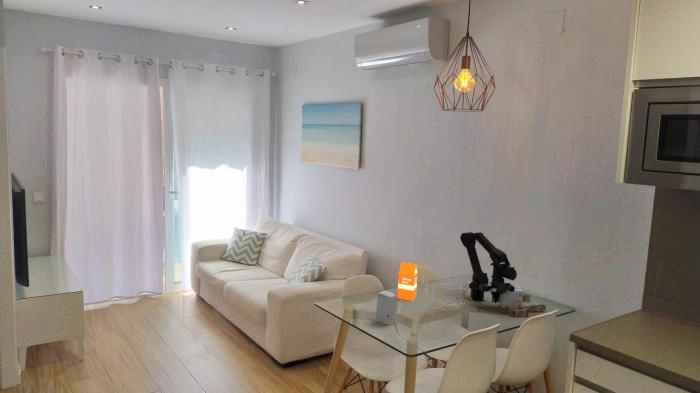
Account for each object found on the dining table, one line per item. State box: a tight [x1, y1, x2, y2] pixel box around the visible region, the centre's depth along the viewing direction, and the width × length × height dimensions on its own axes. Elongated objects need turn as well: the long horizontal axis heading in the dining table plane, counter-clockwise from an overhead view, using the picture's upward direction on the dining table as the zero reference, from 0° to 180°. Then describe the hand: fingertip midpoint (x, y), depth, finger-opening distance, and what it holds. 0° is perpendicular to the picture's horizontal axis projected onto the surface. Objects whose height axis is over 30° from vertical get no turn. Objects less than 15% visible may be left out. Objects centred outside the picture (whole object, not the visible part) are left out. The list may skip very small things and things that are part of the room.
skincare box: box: [375, 289, 398, 326], centre depth 248 cm, size 8×6×15 cm
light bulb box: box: [499, 286, 524, 310], centre depth 277 cm, size 11×7×11 cm, turn 86°
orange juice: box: [397, 262, 418, 302], centre depth 284 cm, size 8×9×20 cm
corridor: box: [491, 293, 547, 318], centre depth 276 cm, size 23×23×4 cm
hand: (495, 302), depth 276 cm, fingers closed, pressing on light bulb box
